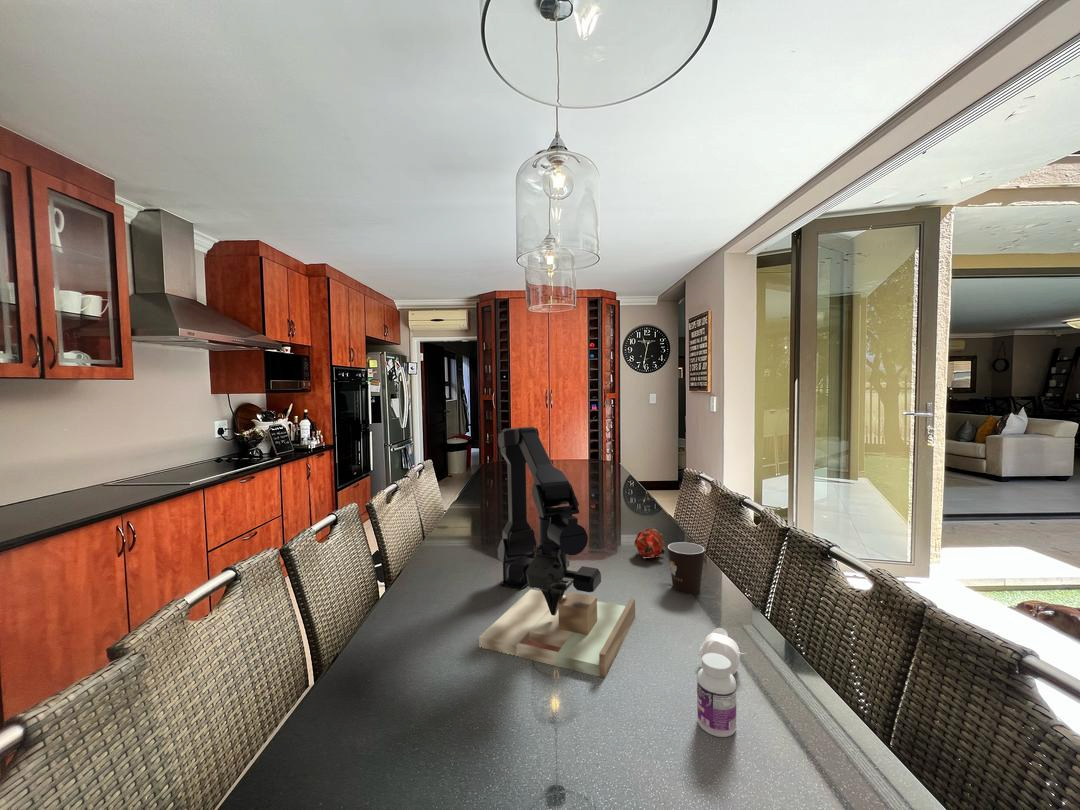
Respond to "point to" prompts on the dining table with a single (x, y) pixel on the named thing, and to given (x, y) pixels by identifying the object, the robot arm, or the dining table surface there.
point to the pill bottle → (716, 696)
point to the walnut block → (577, 613)
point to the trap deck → (560, 635)
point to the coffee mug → (686, 566)
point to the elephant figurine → (722, 647)
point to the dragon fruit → (650, 543)
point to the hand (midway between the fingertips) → (553, 614)
